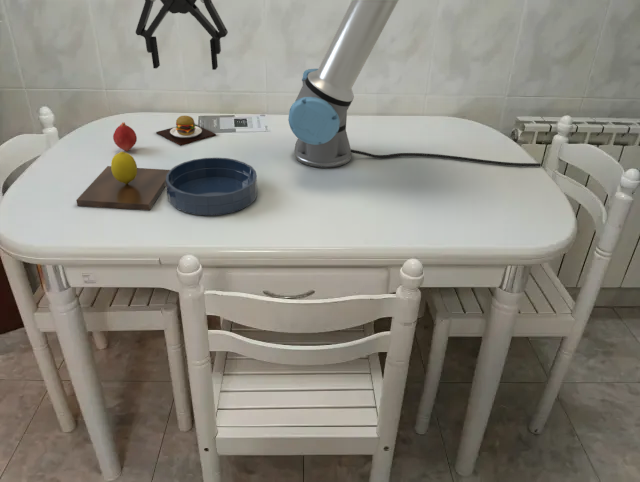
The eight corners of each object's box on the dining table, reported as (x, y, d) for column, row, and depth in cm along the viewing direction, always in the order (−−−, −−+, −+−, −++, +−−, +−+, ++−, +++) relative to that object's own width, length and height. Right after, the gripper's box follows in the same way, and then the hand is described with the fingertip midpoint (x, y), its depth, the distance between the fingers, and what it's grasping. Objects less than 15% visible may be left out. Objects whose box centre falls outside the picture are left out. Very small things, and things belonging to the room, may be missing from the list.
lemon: (132, 190, 126) (127, 157, 122) (109, 187, 127) (103, 155, 123) (143, 180, 131) (138, 148, 126) (121, 177, 132) (116, 145, 127)
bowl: (262, 178, 137) (262, 160, 135) (249, 219, 120) (248, 198, 118) (181, 174, 138) (179, 155, 135) (156, 213, 121) (153, 192, 118)
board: (172, 175, 137) (172, 169, 136) (149, 210, 122) (148, 204, 121) (108, 171, 137) (107, 165, 137) (77, 206, 122) (76, 199, 121)
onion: (110, 152, 147) (105, 123, 143) (125, 145, 152) (120, 116, 147) (129, 156, 145) (124, 127, 141) (142, 149, 150) (138, 120, 146)
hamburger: (191, 124, 167) (190, 106, 164) (216, 135, 160) (214, 117, 157) (156, 133, 160) (154, 114, 157) (180, 145, 153) (178, 126, 150)
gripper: (236, -35, 121) (241, 64, 133) (122, -37, 122) (137, 62, 133) (230, -31, 115) (237, 73, 126) (110, -34, 115) (127, 70, 126)
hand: (185, 67), depth 129 cm, fingers open, 13 cm apart
